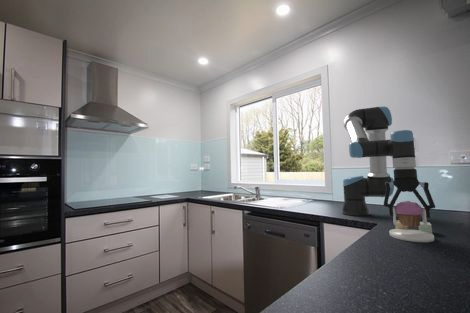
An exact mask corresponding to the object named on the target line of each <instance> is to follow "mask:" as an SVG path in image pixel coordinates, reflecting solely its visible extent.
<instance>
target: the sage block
mask: <svg viewBox="0 0 470 313" xmlns="http://www.w3.org/2000/svg"><path fill="white" fill-rule="evenodd" d="M418 230H419V231H424V232H428V233H431V234H433V228H432V224H431V222H428V221H427V227H424V225H423V221H420V226H419V227H418Z"/></svg>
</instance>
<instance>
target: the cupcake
mask: <svg viewBox="0 0 470 313" xmlns="http://www.w3.org/2000/svg"><path fill="white" fill-rule="evenodd" d="M394 208H395V214H396V216H397V217H398V220H399V221H400V223H401V224H402V225H403V226H408V228H419V226H420V222H421V215H422V213H423V209H424V208H423V206H422V205H420V204H418V203H417V202H414V201H410V200H406V201H400V202H398V203H396V205H395V207H394Z"/></svg>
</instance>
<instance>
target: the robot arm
mask: <svg viewBox="0 0 470 313" xmlns="http://www.w3.org/2000/svg"><path fill="white" fill-rule="evenodd" d="M392 124H393V117H392V112H391V110H390V109H389V107H388V106H385V105H384V106H375V107H365V108H358V109H355V110H352V111H351V112H350V113H349V114H347V115H346V116H345V118H344V120H343V127H344V128H345V130H346V132H348V136H349V139H350V143H349V144H348V152H349V153H348V154H349V156H350V157H351V158H353V159H356V158H357V159H361V158H368V159H369V172H368V174H366V175H367V176H366V177H364V175H357V176H349V177H345V178H344V179H343V180H342V187H343V199H344V200H343V205H342V209H341V214H343V215H347V216H356V217H357V216H358V217H360V216H361V217H364V216H369V215H370V208H368V205H367V203H366V198H372V197H373V198H384V201H383V206H384V207H387V208H388V210H389V211H388V212H389V216H390V217H392V218H393V219H392V220H393V225H394V226H395V225H396V220H397V217H396V216H397V213H395V207H394V206H395V204H396V202H397V200H398V198H399V197H400V194H401V193H405V192H408V193H413V194H414V196H415V197H416V198H417V200H418V201H419V202H420V204H421V206H422V209H423V213H422V214H421V215H422V222H423V225H424V227H427V222H428V219H430V218H431V213H430V210H431V209H435V208H436V205H435V201H434V200H433V197H432V194H431V193H430V189H429V182H427V181H426V182H425V181H424V182H422V181H420V180H418V172H417V169H416V168H417V161H416V152H415V150H416V149H415V137H414V134H413V131H412V130H409V129H404V130H403V129H401V130H395V131H392V132H391V133H390V136H389V137H390V138H389V139H386V132H387V131H388V130H389V127H390V126H391V125H392ZM387 157H392V158H391V159H392V168H393V170H392V171H393V177H391V175H390V174H389V173H388V169H387V168H388V167H387ZM419 185H420V187H421V188H422V189H423V192H424V195H425V197H426V199H427V202H428V204H427V202H426V201H425V200H424V198H423V196H422V195H421V194H420V193H419V191H418V190H417V188H418V187H419ZM395 187H396V191H395V193H394V190H395ZM393 193H394V195H393ZM392 195H393V197H392V199H391V200H390V202H389V199H390V197H391V196H392Z"/></svg>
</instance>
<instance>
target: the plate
mask: <svg viewBox="0 0 470 313" xmlns="http://www.w3.org/2000/svg"><path fill="white" fill-rule="evenodd" d="M388 233H389V235H388V236H390V237H391V238H394V239H395V240H396V239H397V240H401V241H404V242H405V241H406V242H413V243H431V242H434V241H435V235H434V234H433V233H432V234H431V233H428V232H424V231H419V229H418V230H417V229H411V228H410V229H409V228H408V229H396V228H392V229H389V231H388Z"/></svg>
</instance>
